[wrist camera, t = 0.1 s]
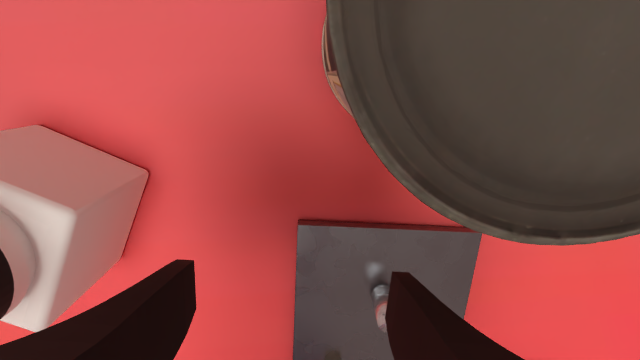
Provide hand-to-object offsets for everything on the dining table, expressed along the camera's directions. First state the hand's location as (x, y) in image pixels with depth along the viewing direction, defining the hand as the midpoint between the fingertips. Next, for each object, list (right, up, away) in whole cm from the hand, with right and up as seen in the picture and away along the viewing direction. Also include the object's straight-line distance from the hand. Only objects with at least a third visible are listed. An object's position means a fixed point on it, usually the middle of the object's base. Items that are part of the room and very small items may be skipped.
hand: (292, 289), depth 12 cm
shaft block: (+5, -7, +13) cm, 15 cm away
